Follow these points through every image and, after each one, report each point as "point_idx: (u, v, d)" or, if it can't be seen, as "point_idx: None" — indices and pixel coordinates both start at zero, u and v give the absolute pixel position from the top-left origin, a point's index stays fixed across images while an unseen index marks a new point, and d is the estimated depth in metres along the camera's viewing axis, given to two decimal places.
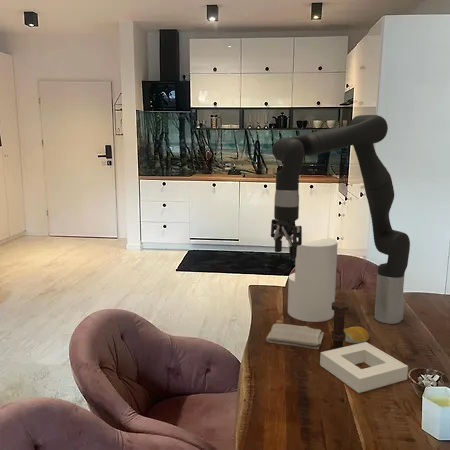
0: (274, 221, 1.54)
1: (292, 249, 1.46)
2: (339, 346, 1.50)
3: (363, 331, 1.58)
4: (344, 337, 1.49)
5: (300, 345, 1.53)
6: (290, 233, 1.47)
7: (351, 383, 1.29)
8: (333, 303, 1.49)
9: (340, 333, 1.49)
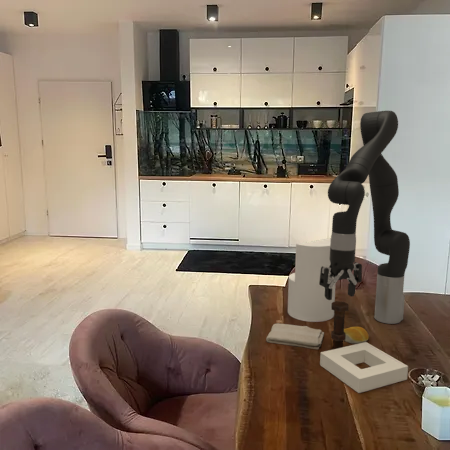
0: None
1: (354, 287, 1.50)
2: (339, 346, 1.50)
3: (363, 331, 1.58)
4: (344, 337, 1.49)
5: (300, 345, 1.53)
6: None
7: (351, 383, 1.29)
8: (333, 303, 1.49)
9: (340, 333, 1.49)
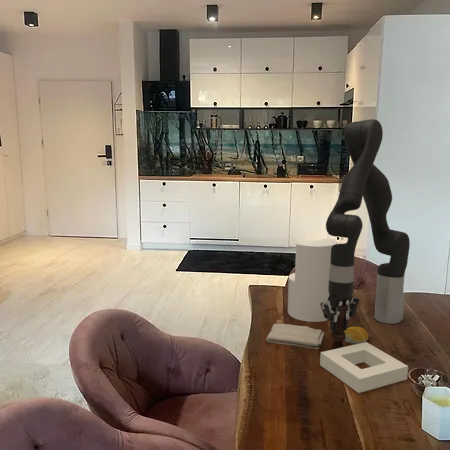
0: None
1: (347, 321, 1.51)
2: (339, 346, 1.50)
3: (363, 331, 1.58)
4: (344, 337, 1.49)
5: (300, 345, 1.53)
6: None
7: (351, 383, 1.29)
8: None
9: (340, 333, 1.49)
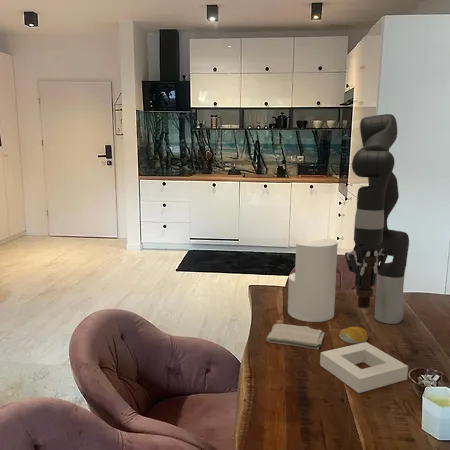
0: None
1: (374, 275, 1.33)
2: (365, 304, 1.32)
3: (362, 331, 1.58)
4: (371, 293, 1.31)
5: (300, 345, 1.53)
6: None
7: (351, 383, 1.29)
8: None
9: (367, 288, 1.31)
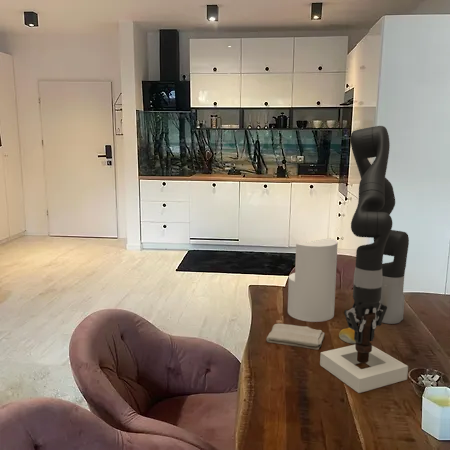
0: None
1: None
2: (364, 358, 1.35)
3: None
4: (370, 348, 1.34)
5: (300, 345, 1.53)
6: None
7: (351, 383, 1.29)
8: None
9: (366, 344, 1.34)
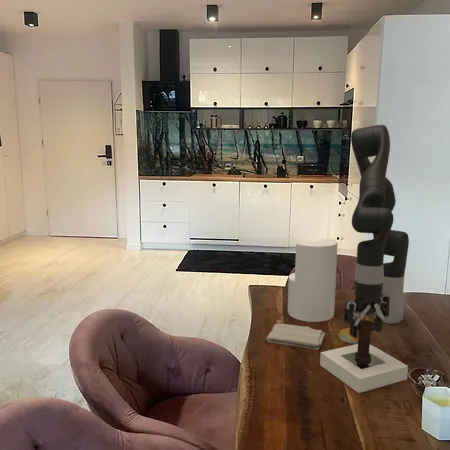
0: None
1: None
2: None
3: None
4: (369, 360, 1.34)
5: (300, 345, 1.53)
6: None
7: (351, 383, 1.29)
8: None
9: (365, 355, 1.34)
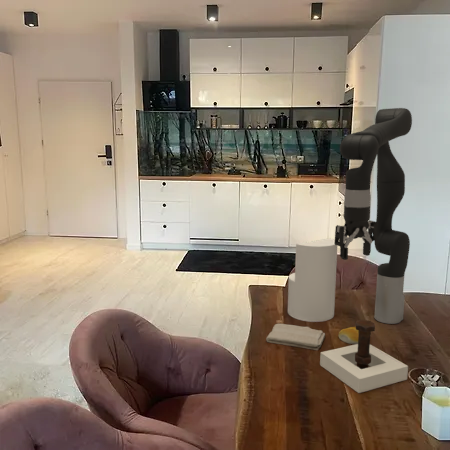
0: None
1: (369, 245, 1.45)
2: None
3: None
4: (370, 360, 1.34)
5: (300, 346, 1.53)
6: None
7: (351, 383, 1.29)
8: (357, 322, 1.34)
9: (365, 355, 1.34)
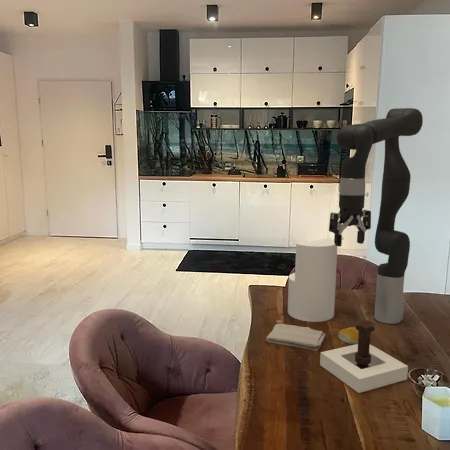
0: None
1: (363, 234, 1.50)
2: None
3: None
4: (369, 360, 1.34)
5: (299, 346, 1.53)
6: None
7: (351, 383, 1.29)
8: (357, 322, 1.34)
9: (365, 355, 1.34)
